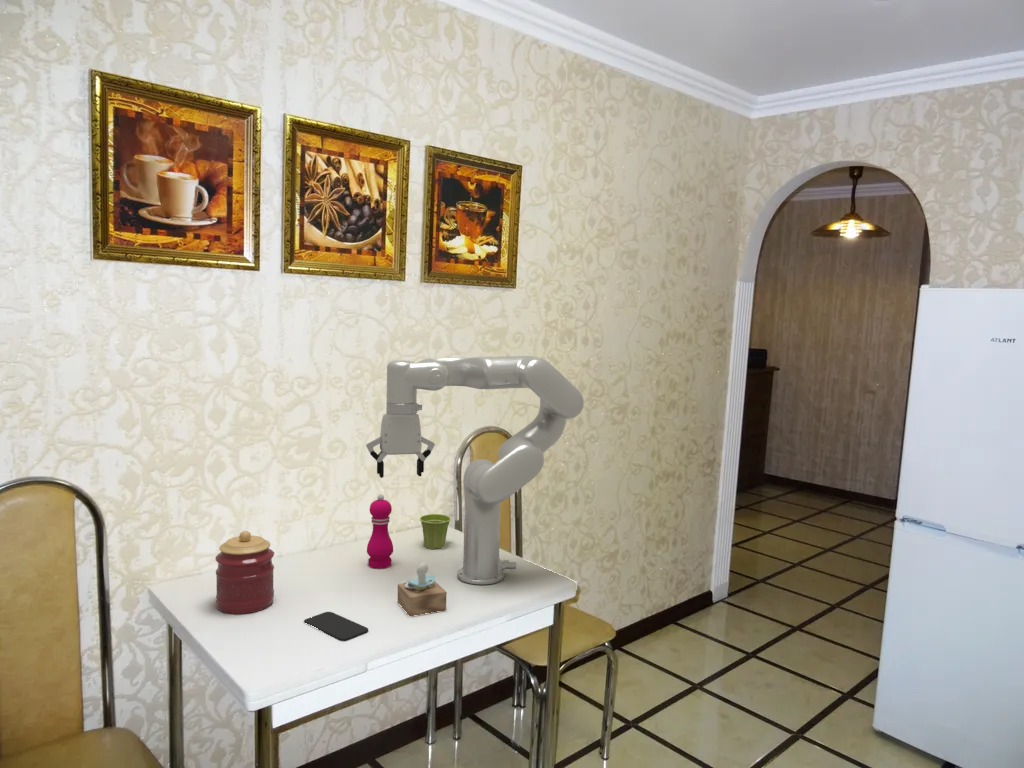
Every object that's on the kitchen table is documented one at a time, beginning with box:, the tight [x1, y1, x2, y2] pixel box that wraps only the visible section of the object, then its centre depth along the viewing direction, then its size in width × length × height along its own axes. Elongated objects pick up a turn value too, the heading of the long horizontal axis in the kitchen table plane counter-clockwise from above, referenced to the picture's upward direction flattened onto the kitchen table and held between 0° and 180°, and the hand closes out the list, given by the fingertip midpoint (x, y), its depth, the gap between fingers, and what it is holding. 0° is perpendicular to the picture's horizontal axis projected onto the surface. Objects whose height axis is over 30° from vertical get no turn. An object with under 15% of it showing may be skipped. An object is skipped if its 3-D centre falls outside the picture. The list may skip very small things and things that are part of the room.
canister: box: [215, 530, 275, 615], centre depth 170 cm, size 13×13×18 cm
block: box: [397, 581, 448, 617], centre depth 172 cm, size 9×9×5 cm
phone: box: [303, 611, 369, 642], centre depth 160 cm, size 7×1×15 cm
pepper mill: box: [366, 493, 394, 570], centre depth 199 cm, size 7×7×20 cm
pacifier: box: [405, 562, 436, 590], centre depth 172 cm, size 7×6×6 cm
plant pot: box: [419, 513, 452, 550], centre depth 217 cm, size 9×9×9 cm
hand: (400, 476), depth 184 cm, fingers open, 9 cm apart
